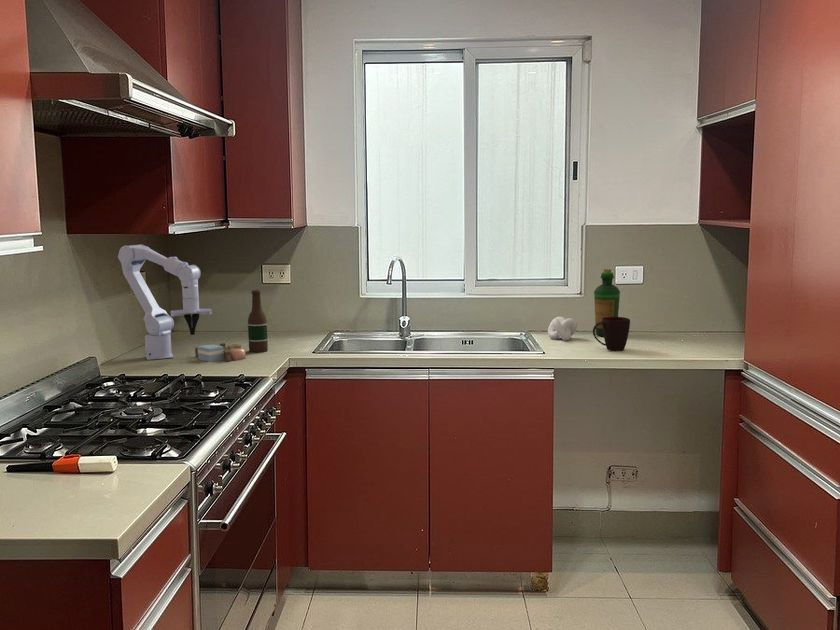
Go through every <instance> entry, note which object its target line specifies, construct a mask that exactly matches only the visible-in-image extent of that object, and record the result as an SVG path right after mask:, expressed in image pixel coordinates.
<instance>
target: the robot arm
mask: <svg viewBox="0 0 840 630" xmlns="http://www.w3.org/2000/svg"><path fill="white" fill-rule="evenodd" d="M117 258H118V260H119V262H120V264H121V269H122V274H123V276H124V277H125V280H126V281H127V283H128V284H129V287H130V288H131V290H132V292H133V293H134V295H135V297H136V299H137V301H138V303H139V304H140V307H141V308H142V310H143V311H144V313H145V314H144V316H143V322H144V324H145V325H144V326H145V330H146V332H147V333H148V334H146V335H144V342H145V343H144V344H145V345H144V346H145V349H144V355H145V358H146V361H149V360H161V359H174V355H173V353H172V339H171V337H172V336H171V333H172V330H173V329H174V327H175V322H174V319H173V317H180V316H181V317H182V316H183V317H184V319H185V321H186V324H187V326H188V328H189V329H188V330H189V333H190V335H191V336H193V335H196V327H197V324H198V321H199V319H200V316H201V315H212V314H213V310H212V308H200V299H199V298H200V296H199V294H200V293H199V279H200V278H201V276H202V275H201V274H202V273H201V269H200V267H198V266H197V264H190V265H189V263H188V262H186V261H182V260H180V259H179V258H178V257H177V256H169V257H166V256H165V255H162V254H160V253H158V252H157V251H155V250H154V249H151V248H150V247H149V246H146V245H144V244H143V243H142V244H133V245H123V246H121V247H120V248H119V251H118V255H117ZM146 260H147V261H150V262H152V263H155V264H157V265H159V266H161V267H163V269H164V271H165V272H167V273H170V274H171V275H174V276H176V277H178V278H179V281H180V284H181V289H182V294H181V295H182V309H175V310H170V315H169V314H168V312H167V310H165V309H163V308H162V307H160V306H159V304H158V302H157V301H156V299H155V297H154V296H153V294H152V292H151V290H150V288H149V286H148V284H147V282H146V281H145V279H144V278H143V276H142V273H141V272H140V271H141V269H142V267H143V265H144V263H146Z"/></svg>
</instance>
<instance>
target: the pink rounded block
mask: <svg viewBox="0 0 840 630" xmlns="http://www.w3.org/2000/svg"><path fill="white" fill-rule="evenodd" d="M229 351H230V354H231V361H242V360H245V359H246V349H245V348H242V347H241V348H235V349H230V350H229Z"/></svg>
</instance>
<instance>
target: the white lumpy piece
mask: <svg viewBox="0 0 840 630" xmlns="http://www.w3.org/2000/svg"><path fill="white" fill-rule="evenodd" d="M577 329H578V322H577V321H576V319H574V318H571V317H569V318H565V317H564V316H557V317H554V318H553V319H552V320H551V322H550V324H549V325H548V328H547V335H548V337H549V338H550V339H551V340H558V339H559V338H561V339H562V341H563V340H564V341H565V342H566V341H567V342H568V341H569V340H570V339H571V337H572V336H573V335H574V334H575V333H576V331H577Z"/></svg>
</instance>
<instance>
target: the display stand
mask: <svg viewBox="0 0 840 630" xmlns="http://www.w3.org/2000/svg"><path fill="white" fill-rule="evenodd" d="M219 346H222V347H223V348H224V361H225V362H226V363H227V362H228V363H229V362H232V360H231V354H230V351H229V350H228V349H227V346H226V343H225V342H219ZM194 351H195V358H198V346H196V347H194Z"/></svg>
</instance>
